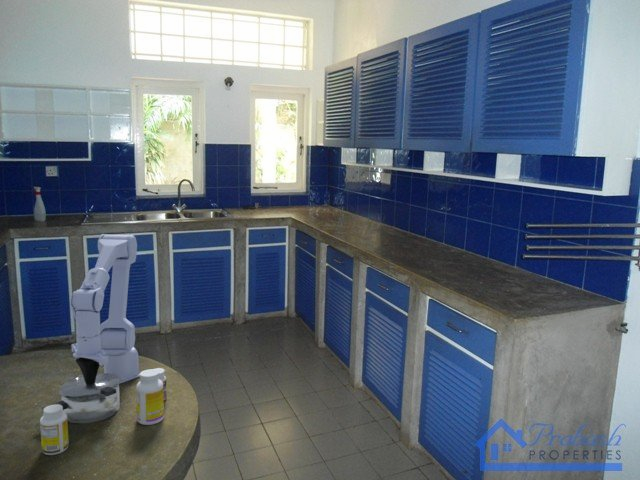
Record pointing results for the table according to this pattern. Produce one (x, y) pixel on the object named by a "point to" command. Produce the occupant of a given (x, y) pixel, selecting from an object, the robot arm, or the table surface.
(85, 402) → the cooker pot
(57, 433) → the supplement bottle
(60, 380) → the table surface
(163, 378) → the pill bottle
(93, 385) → the cooker lid
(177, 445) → the table surface
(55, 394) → the table surface
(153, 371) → the supplement bottle
